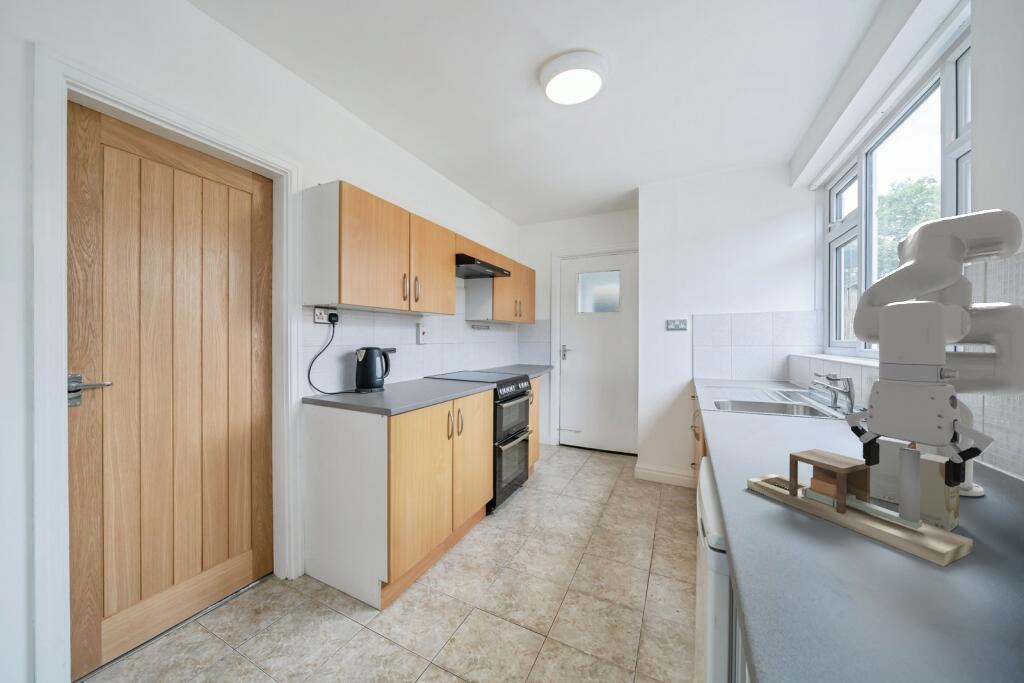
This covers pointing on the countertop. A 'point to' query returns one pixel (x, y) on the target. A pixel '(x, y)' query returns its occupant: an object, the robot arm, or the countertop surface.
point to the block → (824, 485)
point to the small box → (887, 470)
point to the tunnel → (834, 474)
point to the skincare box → (937, 494)
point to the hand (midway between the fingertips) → (909, 474)
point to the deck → (872, 523)
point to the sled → (907, 493)
